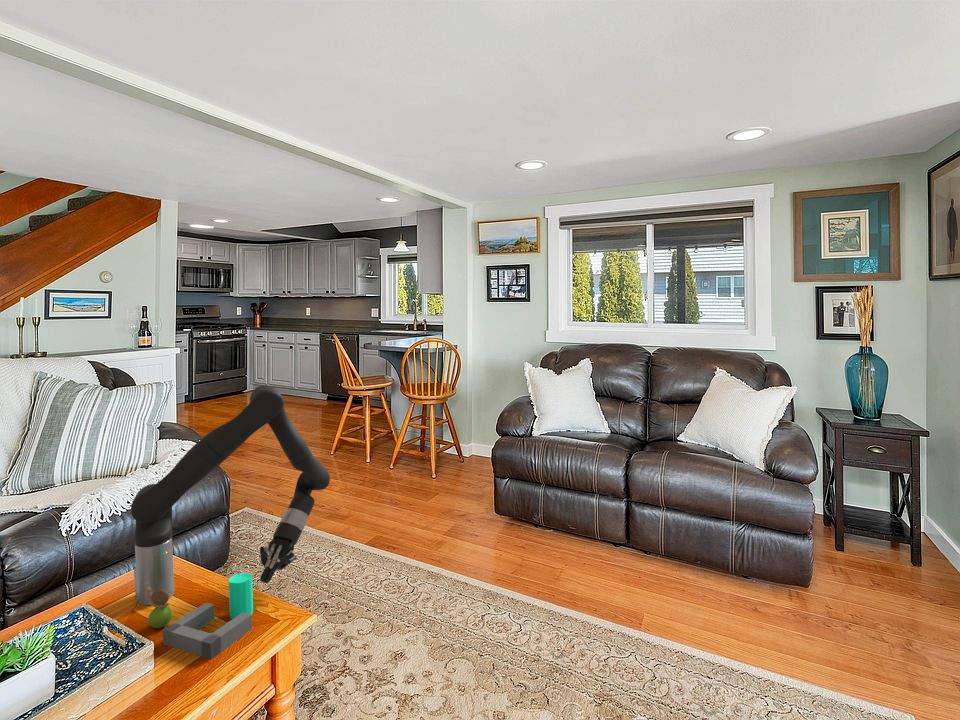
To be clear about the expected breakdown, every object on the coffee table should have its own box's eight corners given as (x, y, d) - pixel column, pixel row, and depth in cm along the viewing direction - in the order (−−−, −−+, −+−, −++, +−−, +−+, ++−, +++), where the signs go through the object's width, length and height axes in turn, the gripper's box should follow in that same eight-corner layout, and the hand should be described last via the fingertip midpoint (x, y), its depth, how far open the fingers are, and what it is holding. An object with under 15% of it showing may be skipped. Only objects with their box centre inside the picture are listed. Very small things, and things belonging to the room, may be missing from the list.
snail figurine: (153, 619, 140) (151, 577, 139) (176, 620, 140) (175, 578, 139) (140, 632, 135) (138, 588, 134) (164, 632, 135) (162, 589, 134)
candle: (244, 621, 140) (242, 579, 139) (224, 618, 142) (223, 576, 140) (257, 609, 146) (256, 568, 145) (239, 606, 147) (237, 566, 146)
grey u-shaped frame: (163, 644, 130) (162, 629, 130) (206, 616, 142) (206, 602, 142) (211, 659, 125) (210, 643, 124) (251, 629, 137) (251, 614, 137)
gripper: (268, 518, 161) (239, 573, 151) (302, 524, 157) (275, 582, 147) (280, 527, 167) (253, 582, 156) (314, 534, 162) (288, 590, 152)
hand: (263, 582), depth 152 cm, fingers closed
